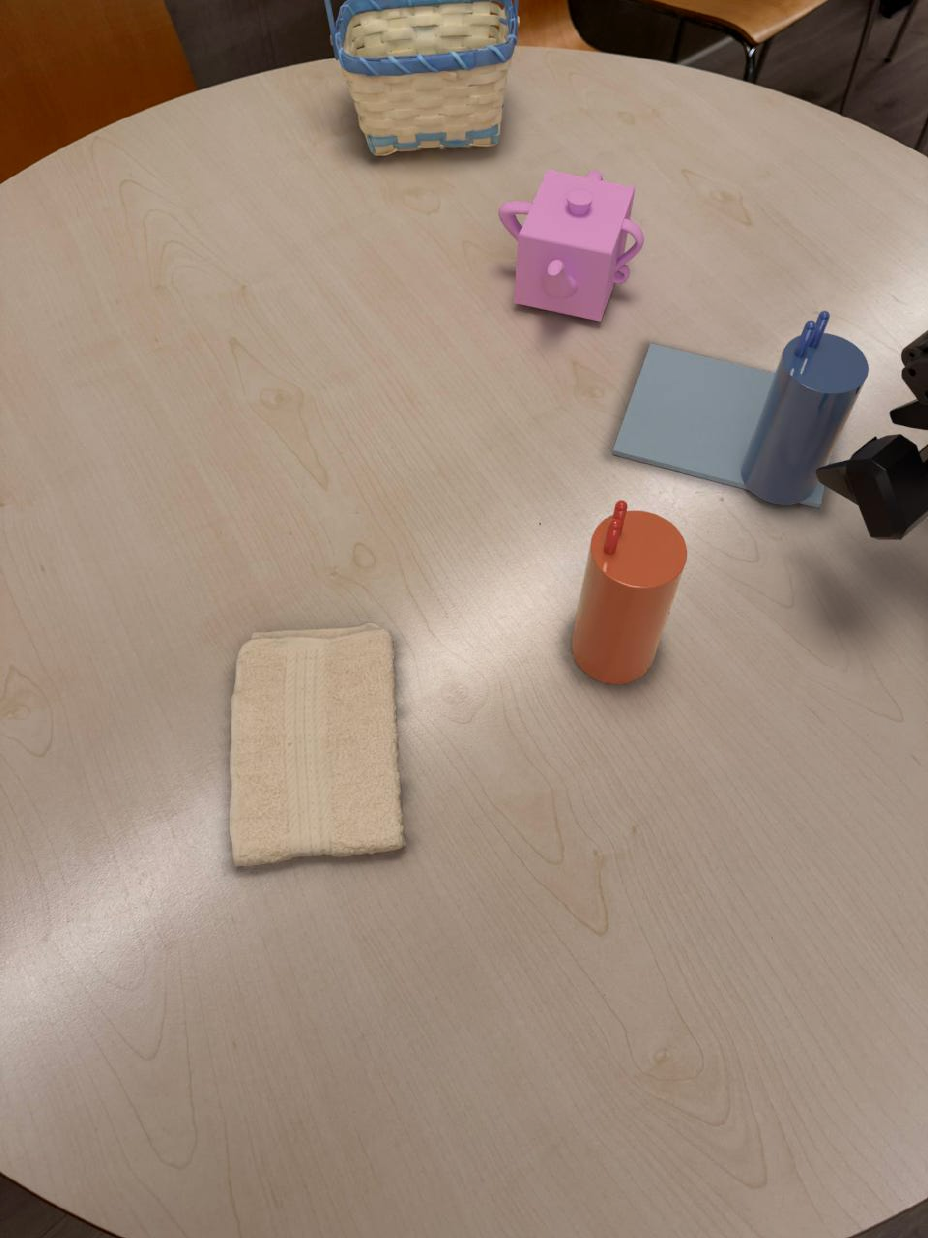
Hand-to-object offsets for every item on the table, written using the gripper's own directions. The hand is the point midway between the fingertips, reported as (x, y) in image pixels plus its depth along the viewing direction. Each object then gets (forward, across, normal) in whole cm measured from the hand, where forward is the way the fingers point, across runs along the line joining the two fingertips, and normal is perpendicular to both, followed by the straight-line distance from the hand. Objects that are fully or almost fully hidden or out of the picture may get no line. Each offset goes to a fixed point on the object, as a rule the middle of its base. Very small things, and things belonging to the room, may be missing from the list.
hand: (855, 445), depth 79 cm
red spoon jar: (+8, +23, +4) cm, 24 cm away
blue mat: (+14, -2, -2) cm, 15 cm away
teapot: (+30, -3, -18) cm, 35 cm away
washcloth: (+13, +45, -1) cm, 47 cm away
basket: (+51, -10, -39) cm, 65 cm away
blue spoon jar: (+9, 0, +2) cm, 9 cm away
